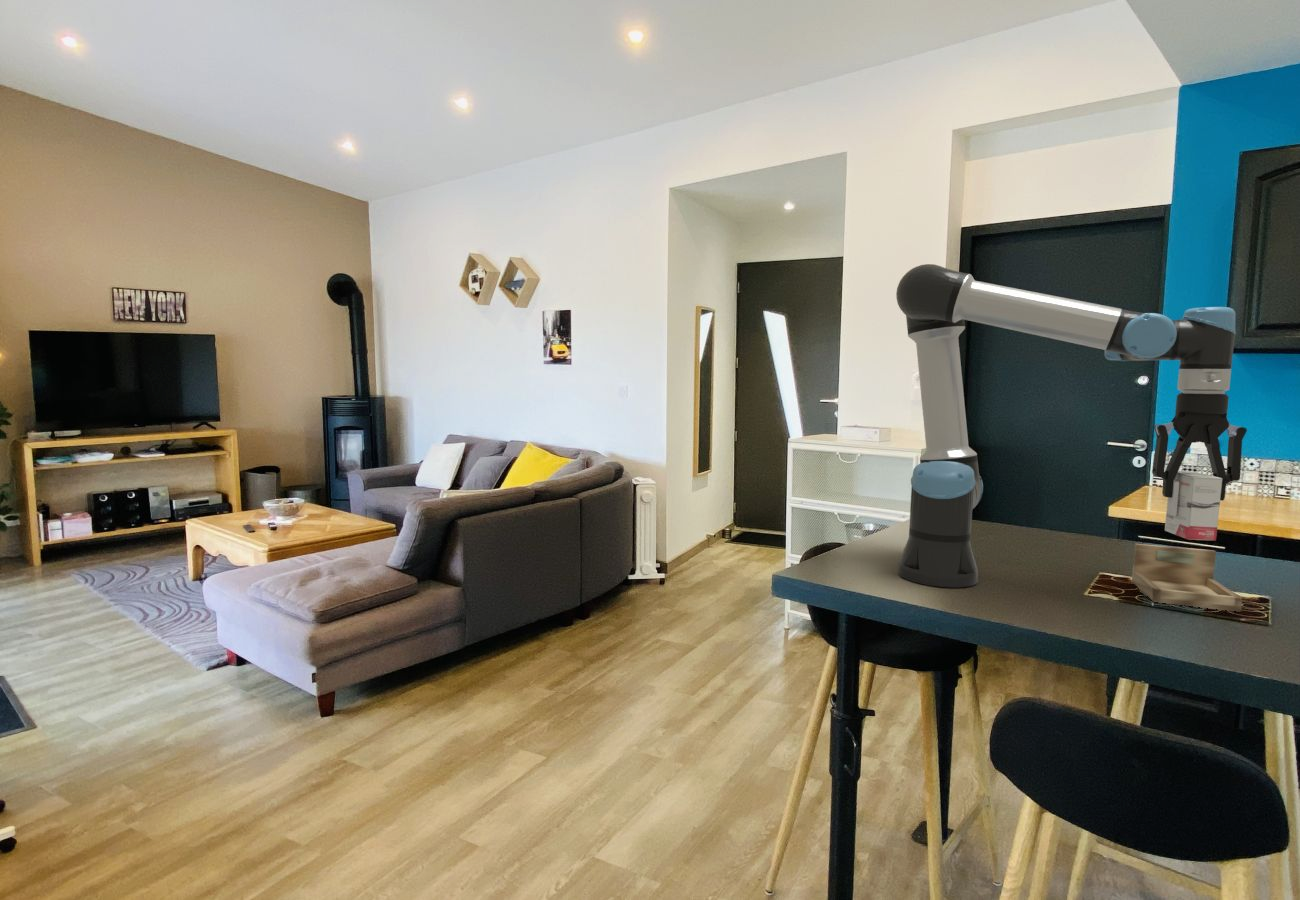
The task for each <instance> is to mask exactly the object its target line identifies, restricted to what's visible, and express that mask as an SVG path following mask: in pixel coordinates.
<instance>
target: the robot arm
mask: <svg viewBox="0 0 1300 900" xmlns="http://www.w3.org/2000/svg"><path fill="white" fill-rule="evenodd" d="M895 297H896V302H897V305H898V308H899V310H900V311H902V313H903V314H904V315H905V318H906V329H907V337H908V339H909V338H910V339H911V340H912V341H913V342H914V343H915V345H916V353H917V355H916V356H917V367H918V376H919V378H918V379H919V386H920V395H921V406H922V407H921V408H922V416H923V419H922V420H923V428H924V436H925V437H924V438H925V439H924V441H925V449H926V450H925V451H924V452H923V453H922V455H921V456H920V457H919V464H917V465H915V467H914V468H913V470H912V476H911V478H910V485H911V487H910V488H911V492H910V508H909V510H910V512H909V528H908V529H909V531H908V532H909V533H908V539H907V541H906V543H905V546H904V548H903V551H902V553H901V556H900V558H899V561H898V566H897V572H898V573H897V574H898V575H899V576H900V577H902V578H903V579H906V580H908V581H909V582H914V583H918V584H922V585H926V586H931V587H938V588H939V587H940V588H968V587H972V586H975V585H976V584H977V583H978V581H979V569H978V567H977V563H976V560H975V557H974V553H973V549H972V545H971V535H972V521H973V509H975V508H976V506H977V505H978V504H979V502H980V501H981V499H982V496H983V492H984V483H983V479H982V476H981V475H980V471H979V470H980V469H979V463H978V453H977V452H976V451H975V450H973V448H972V447H970V446H969V437H968V427H967V418H966V417H967V415H966V406H965V396H964V395H965V393H964V384H963V383H964V382H963V375H962V365H961V353H960V346H959V345H960V343H959V342H960V341H959V338H960V335H961V334H962V333H963V331H965V329H966V325H965V324H966V323H965V321H970V322H974V323H979V324H983V325H988V326H993V327H998V328H1002V329H1006V330H1009V331H1010V330H1011V331H1017V332H1020V333H1025V334H1029V335H1033V336H1034V335H1035V336H1038V337H1044V338H1049V339H1052V340H1057V341H1063V342H1066V343H1072V344H1076V345H1079V346H1080V345H1081V346H1086V347H1089V348H1094V349H1100V350H1104V357H1105V359H1106V360H1107V361H1120V362H1130V361H1131V362H1132V361H1137V362H1138V361H1139V362H1140V361H1179V369H1178V379H1177V390H1178V391H1180V393H1178V394H1177V395H1176V402H1175V412H1174V413H1175V415H1174V417H1173V418H1172V419H1171V422H1168V423H1163V424H1160V423H1156V424H1155V425H1154V426H1153V427H1154V428H1153V429H1154V432H1155V435H1156V441H1155V445H1154V446H1155V448H1154V454H1153V464H1152V468H1151V469H1152V470H1151V473H1152V475H1153V476H1155V477H1159V478H1161V479H1162V481H1163V483H1162V493H1161V494H1162V496H1163V497H1165V498H1167V500H1168V504H1167V503H1166V511H1167V514H1169V515H1171V516H1176V514H1177V503H1178V492H1179V482H1178V481H1176V480H1174V479H1175V477H1176V475H1177V473H1178V471H1180V468H1181V466H1182V463H1183V461H1184V459H1185V457H1186V454H1187V452H1188V450H1189V448H1190V447H1191V445H1192V443H1203V444H1204V447H1205V448H1206V452H1207V455H1208V459H1209V463H1210V468H1211V472H1212V476H1215V477H1219V478H1222V487H1221V496H1220V501H1224V500H1225V498H1226V489H1227V485H1228V484H1229V483H1230V482H1234V481H1235V482H1237V481H1239V480H1240V479H1241V467H1242V466H1241V465H1242V453H1243V452H1242V449H1243V440H1244V437H1245V435H1246V434H1247V431H1248V430H1247V428H1246V427H1244V426H1237V425H1233V424H1230V421H1229V420H1228V417H1227V416H1228V408H1229V398H1230V396H1229V395H1228V394H1225V392H1227V391H1230V387H1231V386H1230V385H1231V375H1232V364H1233V356H1234V346H1235V339H1236V334H1237V332H1236V311H1235V310H1234V309H1233V308H1232V307H1228V306H1208V307H1207V306H1206V307H1193V308H1189V309H1186V310H1185V311H1184V313H1183V316H1182V318H1180V319H1170V318H1169V316H1166V315H1163V314H1161V313H1155V312H1146V313H1145V312H1140V311H1134V310H1129V309H1128V310H1126V309H1122V308H1121V307H1120V308H1119V307H1115V306H1110V305H1109V306H1108V305H1104V304H1103V305H1102V304H1098V303H1093V302H1088V301H1083V300H1078V299H1073V298H1067V297H1062V296H1056V295H1051V294H1046V293H1041V292H1036V291H1031V290H1030V291H1029V290H1025V289H1019V288H1015V287H1010V286H1004V285H999V284H995V283H989V282H986V281H985V282H984V281H978V280H975V279H974V277H973V275H972V274H971V273H966V272H961V271H957V270H952V269H950V268H948V267H947V268H946V267H943V266H941V265H937V264H930V263H927V264H920V265H918V266H915V267H913V268H911V269H909V270H908V271H907V272H906V273H905V274H904V275H903V276H902V278H901V279H900V280H899V282H898V285H897V287H896V295H895ZM1172 429H1173V430H1174V431H1175V432H1176V433H1177V435H1178V438H1177V441H1176V446H1175V447H1174V450H1173V452H1172V455H1171V457H1170V458H1169V461H1168V463H1167V465H1166V460H1167V453H1168V445H1169V435H1171V434H1172ZM1225 431H1226V434H1227V435H1226V436H1228V440H1227V456H1226V457H1227V458H1226V459H1227V460H1226V461H1227V462H1226V469H1225V465H1224V460H1223V456H1222V452H1221V449H1220V447H1221V443H1220V440H1219V437H1220V436H1222V435H1223V433H1224V432H1225Z"/></svg>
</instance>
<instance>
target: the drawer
mask: <svg viewBox="0 0 1300 900" xmlns="http://www.w3.org/2000/svg"><path fill="white" fill-rule="evenodd" d="M1216 555H1217V551H1216V550H1214V549H1203V548H1194V547H1193V548H1192V547H1190V548H1189V547H1180V546H1168V545H1155V544H1145V543H1134V550H1133V562H1132V572H1131V583H1132V582H1133V583H1134V584H1135V585H1136V586H1137V587H1138V588H1139V589H1138V588H1137V587H1136V586H1135V585H1134V584H1133V583H1132V584H1133V585H1134V586H1135V587H1136V588H1137V589H1138V590H1139V591H1141V593H1143V595H1144V596H1146V597H1147V596H1148V597H1149V598H1150V599H1151V600H1152V601H1153V602H1158V603H1157V604H1162V603H1166V604H1165V605H1171V604H1177V605H1176V606H1180V605H1185V606H1184V607H1189V606H1193V607H1192V608H1198V607H1200V609H1207V608H1208V610H1216V609H1217V610H1218V611H1225V610H1227V611H1226V612H1234V611H1236V613H1241V612H1242V605H1243V604H1242V603H1243V598H1242V597H1240V596H1239V595H1237V594H1236V593H1235V592H1233V591H1232V590H1231V589H1229V588H1228V587H1225V585H1223V584H1221V583H1220V582H1219V581H1217V580H1215V579H1214V574H1215V563H1216ZM1148 597H1147V598H1148ZM1149 598H1148V599H1149ZM1150 599H1149V600H1150ZM1151 600H1150V601H1151ZM1152 601H1151V602H1152ZM1153 602H1152V603H1153Z"/></svg>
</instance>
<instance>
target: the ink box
mask: <svg viewBox="0 0 1300 900" xmlns="http://www.w3.org/2000/svg"><path fill="white" fill-rule="evenodd" d="M1174 480H1176V481H1178V482H1179V492H1178V503H1177V514H1176V516H1171V515H1169V514H1167V510H1165V512H1166V513H1165V522H1164V531H1165V532H1168V533H1170V534H1172V535H1175V536H1178V537H1181V538H1183V539H1185V540H1189V541H1191V540H1193V541H1194V540H1195V541H1217V537H1218V535H1217V534H1218V525H1219V524H1218V523H1219V514H1220V504H1221V500H1220V496H1221V487H1222V478H1219V477H1215V476H1213V475H1212V474H1206V473H1202V472H1197V471H1190V470H1189V471H1188V470H1178V473H1177V475H1176V477H1175V479H1174ZM1166 501H1167V502H1166V505H1167V504H1168V499H1167V500H1166Z"/></svg>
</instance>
